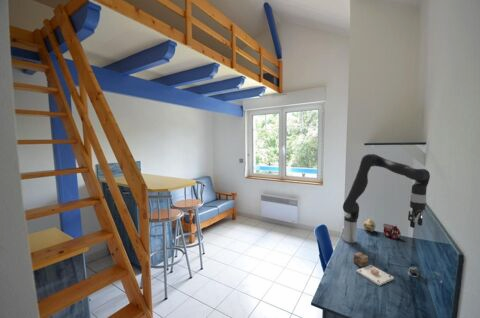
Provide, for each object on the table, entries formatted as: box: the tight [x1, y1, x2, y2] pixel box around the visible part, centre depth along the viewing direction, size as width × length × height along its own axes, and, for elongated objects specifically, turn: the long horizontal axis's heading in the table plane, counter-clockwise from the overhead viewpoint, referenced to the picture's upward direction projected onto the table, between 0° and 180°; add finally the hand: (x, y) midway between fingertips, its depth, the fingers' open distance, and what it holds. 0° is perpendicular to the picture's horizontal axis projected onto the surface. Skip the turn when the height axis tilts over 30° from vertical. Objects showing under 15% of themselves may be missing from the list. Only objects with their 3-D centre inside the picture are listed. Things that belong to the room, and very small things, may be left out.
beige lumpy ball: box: [362, 218, 376, 233], centre depth 194 cm, size 10×12×11 cm
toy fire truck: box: [382, 223, 402, 240], centre depth 182 cm, size 7×12×10 cm, turn 47°
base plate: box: [356, 264, 395, 287], centre depth 129 cm, size 14×14×3 cm
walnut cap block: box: [353, 251, 369, 268], centre depth 141 cm, size 6×6×6 cm
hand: (416, 226), depth 132 cm, fingers open, 8 cm apart
